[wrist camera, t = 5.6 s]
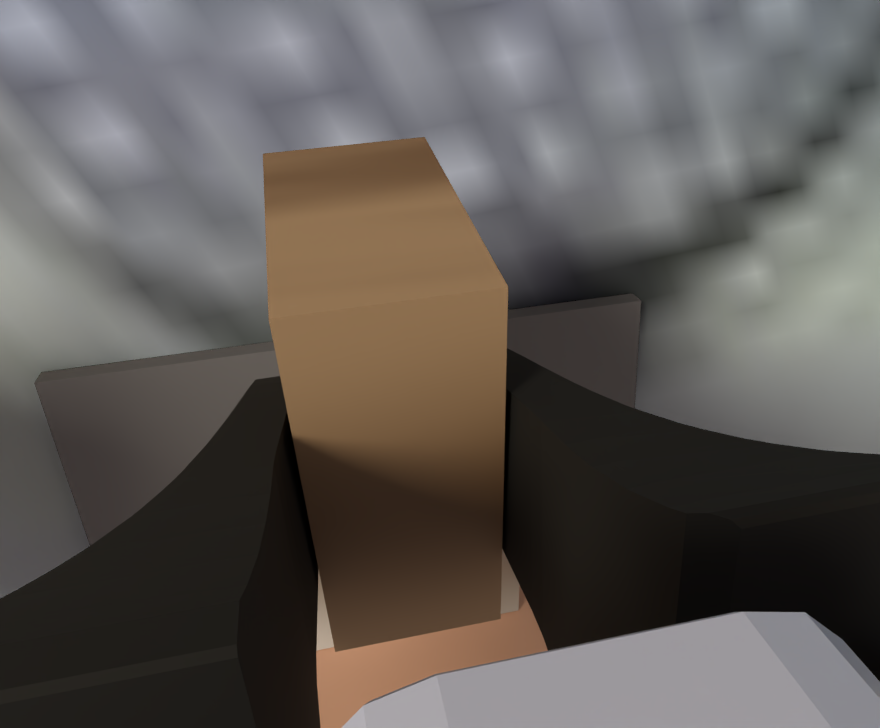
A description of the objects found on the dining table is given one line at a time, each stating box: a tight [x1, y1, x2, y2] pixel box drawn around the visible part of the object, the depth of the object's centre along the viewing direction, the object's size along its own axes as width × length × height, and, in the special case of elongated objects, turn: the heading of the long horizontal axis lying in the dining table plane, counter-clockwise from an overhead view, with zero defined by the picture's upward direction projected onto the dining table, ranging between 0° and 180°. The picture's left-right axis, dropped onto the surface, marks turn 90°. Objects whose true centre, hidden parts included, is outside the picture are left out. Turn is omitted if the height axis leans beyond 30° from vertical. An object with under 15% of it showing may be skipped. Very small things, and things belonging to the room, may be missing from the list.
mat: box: [35, 293, 641, 546], centre depth 24 cm, size 16×18×1 cm
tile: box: [316, 587, 548, 728], centre depth 18 cm, size 8×2×10 cm, turn 94°
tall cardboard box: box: [263, 137, 520, 652], centre depth 14 cm, size 12×6×5 cm, turn 4°
